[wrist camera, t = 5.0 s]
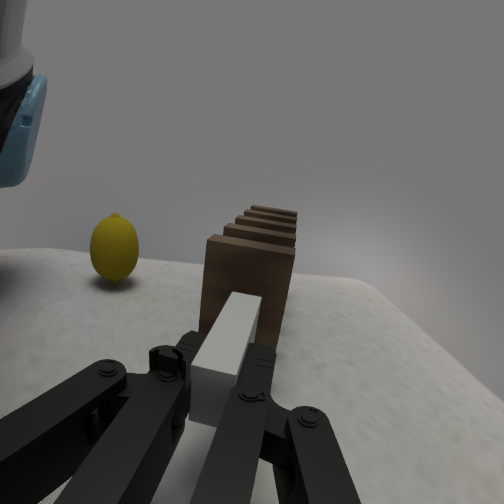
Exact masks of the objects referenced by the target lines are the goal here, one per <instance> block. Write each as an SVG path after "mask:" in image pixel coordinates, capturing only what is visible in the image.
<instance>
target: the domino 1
mask: <svg viewBox="0 0 504 504" xmlns="http://www.w3.org/2000/svg"><path fill="white" fill-rule="evenodd" d="M294 258H295V248H291V247H285V246H280V245H274V244H268V243H263V242H257V241H251V240H245V239H240V238H234V237H228V236H222V235H216V234H214V235H213V236H211V237H210V238H209V239H207V245H206V255H205V264H204V274H203V285H202V295H201V307H200V319H199V331H198V332H200V333H204V334H209V332H210V330H211V328H212V327H213V325H214V323H215V321H216V320H217V318H218V316H219V314H220V313H221V311H222V309H223V307H224V305H225V304H226V302H227V300H228V298H229V297H230V295H231V293H232V292H237V293H243V294H248V295H253V296H258V297H262V299H261V304H260V310H259V316H258V322H257V328H256V334H255V339H254V344H260V345H265V346H270V347H273V349H274V351H275V352H276V347H277V343H278V338H279V333H280V329H281V324H282V319H283V314H284V309H285V304H286V299H287V294H288V289H289V284H290V279H291V274H292V268H293V263H294Z"/></svg>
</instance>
